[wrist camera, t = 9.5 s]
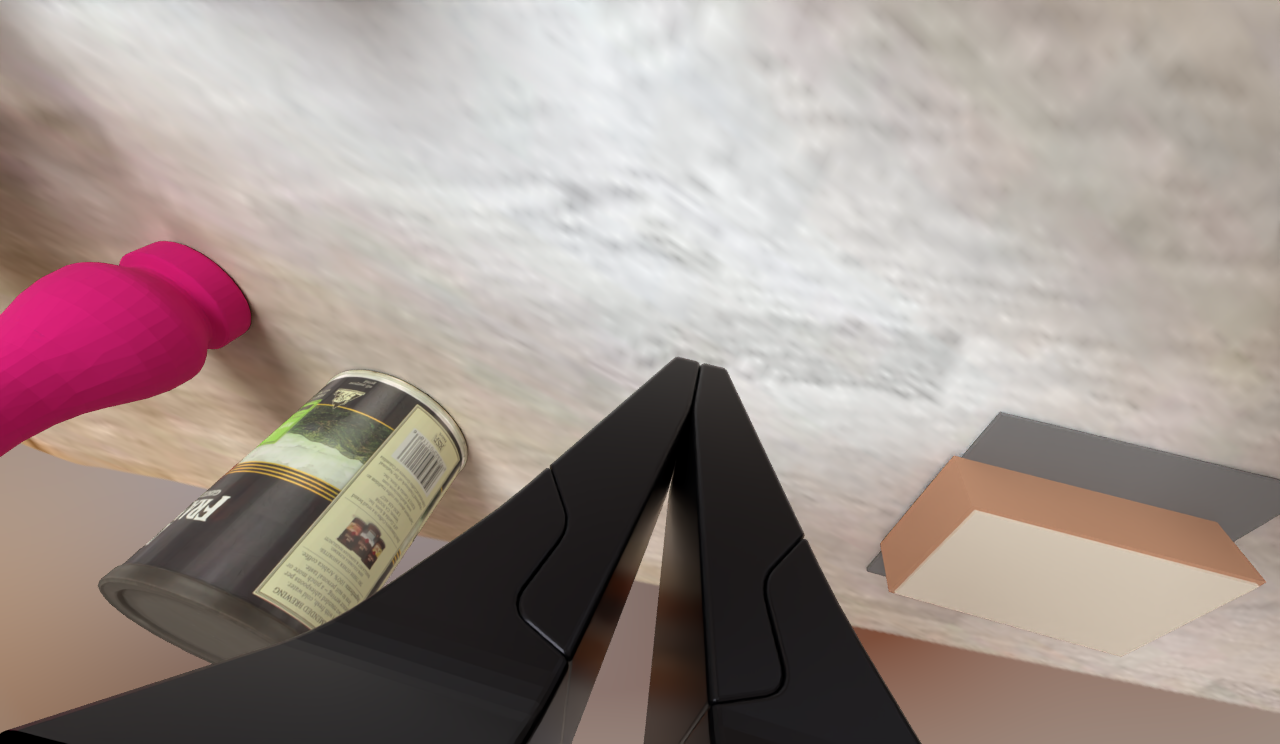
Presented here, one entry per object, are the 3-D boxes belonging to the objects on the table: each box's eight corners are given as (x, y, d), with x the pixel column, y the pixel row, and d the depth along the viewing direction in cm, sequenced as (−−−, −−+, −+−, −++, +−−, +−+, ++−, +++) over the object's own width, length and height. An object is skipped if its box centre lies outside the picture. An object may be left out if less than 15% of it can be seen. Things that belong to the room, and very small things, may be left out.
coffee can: (306, 412, 34) (87, 607, 23) (360, 340, 29) (103, 555, 18) (426, 496, 38) (284, 701, 27) (497, 446, 32) (351, 683, 21)
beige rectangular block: (953, 455, 24) (1217, 522, 23) (880, 543, 29) (1092, 601, 28) (973, 508, 21) (1269, 585, 20) (889, 594, 26) (1122, 659, 25)
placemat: (1313, 488, 21) (1317, 492, 21) (1081, 627, 30) (1082, 630, 30) (1000, 411, 22) (1001, 415, 22) (866, 568, 31) (866, 571, 31)
